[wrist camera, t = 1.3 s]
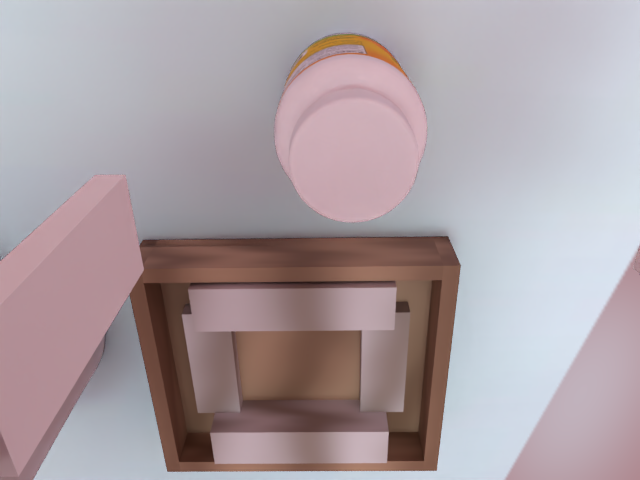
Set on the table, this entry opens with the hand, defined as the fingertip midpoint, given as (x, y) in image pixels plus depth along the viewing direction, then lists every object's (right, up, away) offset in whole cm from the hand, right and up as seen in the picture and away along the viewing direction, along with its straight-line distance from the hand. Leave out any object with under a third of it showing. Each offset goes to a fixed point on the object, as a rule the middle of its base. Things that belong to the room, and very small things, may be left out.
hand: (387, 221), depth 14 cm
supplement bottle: (-1, +6, +11) cm, 13 cm away
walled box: (-3, -7, +18) cm, 19 cm away
